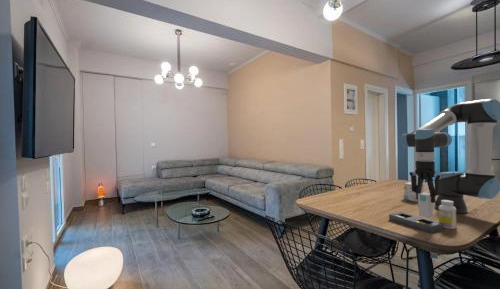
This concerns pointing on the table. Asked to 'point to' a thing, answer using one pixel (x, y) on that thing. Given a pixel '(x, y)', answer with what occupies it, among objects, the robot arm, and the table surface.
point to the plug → (424, 205)
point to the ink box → (410, 191)
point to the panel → (416, 222)
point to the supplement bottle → (447, 214)
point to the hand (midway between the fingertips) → (425, 207)
